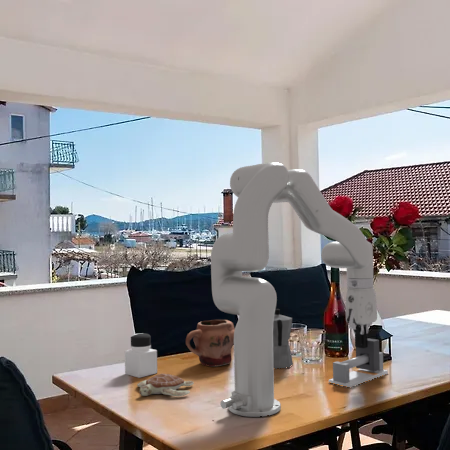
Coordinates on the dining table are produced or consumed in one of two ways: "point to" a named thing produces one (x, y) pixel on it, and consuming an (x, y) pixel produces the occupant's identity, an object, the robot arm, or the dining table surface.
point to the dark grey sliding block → (370, 355)
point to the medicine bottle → (140, 357)
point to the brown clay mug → (212, 342)
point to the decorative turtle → (163, 385)
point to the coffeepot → (281, 341)
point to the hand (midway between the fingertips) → (361, 347)
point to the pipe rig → (355, 371)
